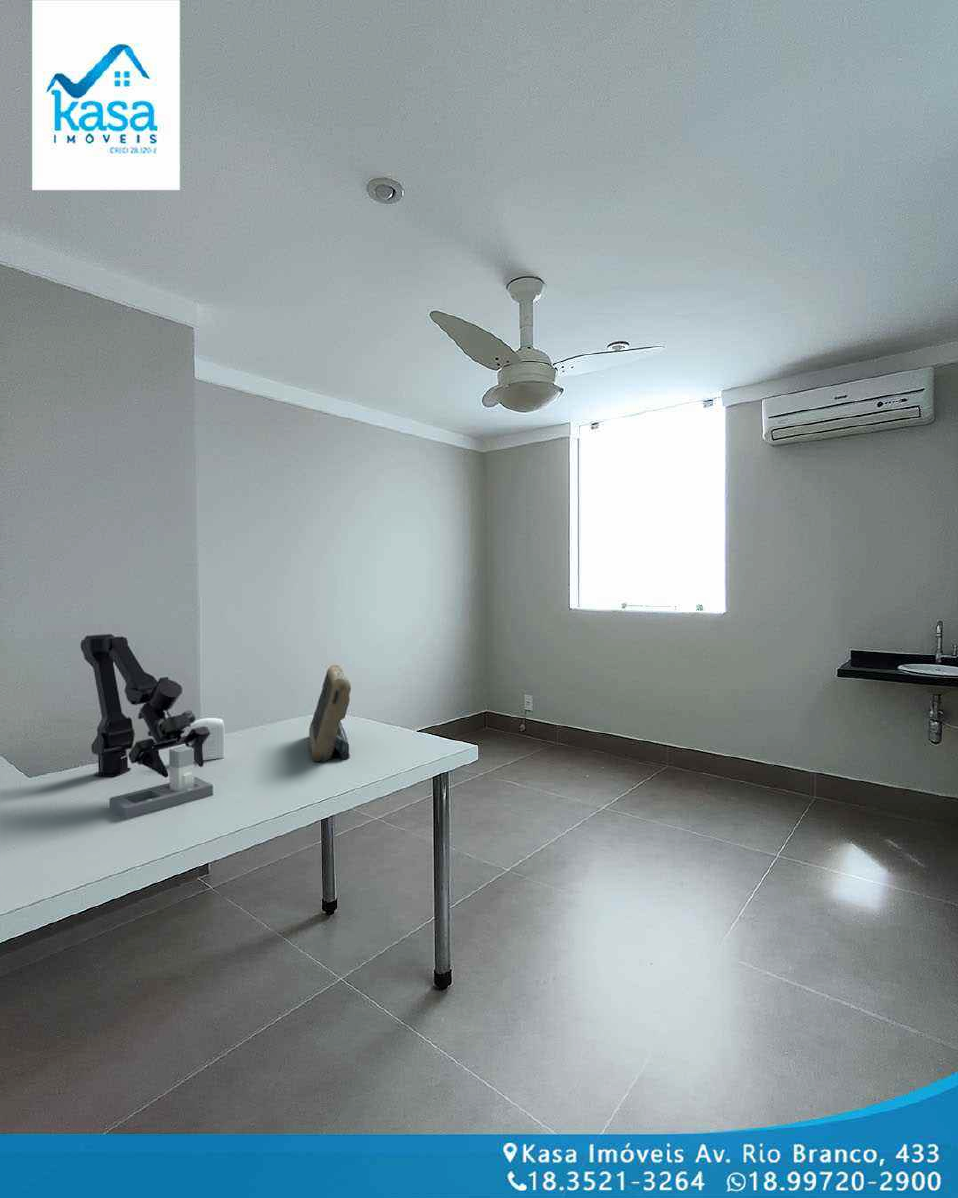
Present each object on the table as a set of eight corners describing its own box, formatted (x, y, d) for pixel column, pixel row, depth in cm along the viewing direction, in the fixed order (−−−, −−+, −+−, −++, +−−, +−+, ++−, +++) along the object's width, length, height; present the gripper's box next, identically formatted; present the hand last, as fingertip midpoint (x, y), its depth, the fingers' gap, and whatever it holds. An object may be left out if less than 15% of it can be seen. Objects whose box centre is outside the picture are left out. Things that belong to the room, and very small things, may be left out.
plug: (169, 797, 147) (169, 749, 146) (184, 792, 150) (184, 745, 150) (181, 801, 144) (180, 752, 144) (196, 796, 148) (195, 748, 147)
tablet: (301, 737, 204) (301, 665, 203) (341, 733, 209) (341, 663, 208) (313, 764, 174) (312, 680, 173) (359, 759, 179) (359, 677, 178)
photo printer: (223, 754, 183) (222, 715, 182) (225, 758, 179) (225, 717, 179) (186, 760, 177) (186, 719, 176) (188, 763, 173) (188, 722, 173)
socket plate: (109, 808, 139) (109, 797, 139) (194, 785, 155) (194, 775, 155) (125, 819, 133) (125, 807, 133) (212, 794, 149) (212, 784, 148)
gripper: (134, 709, 141) (161, 762, 135) (205, 696, 157) (232, 743, 151) (117, 736, 145) (142, 789, 140) (188, 721, 161) (213, 768, 156)
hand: (185, 771), depth 147 cm, fingers open, 9 cm apart
